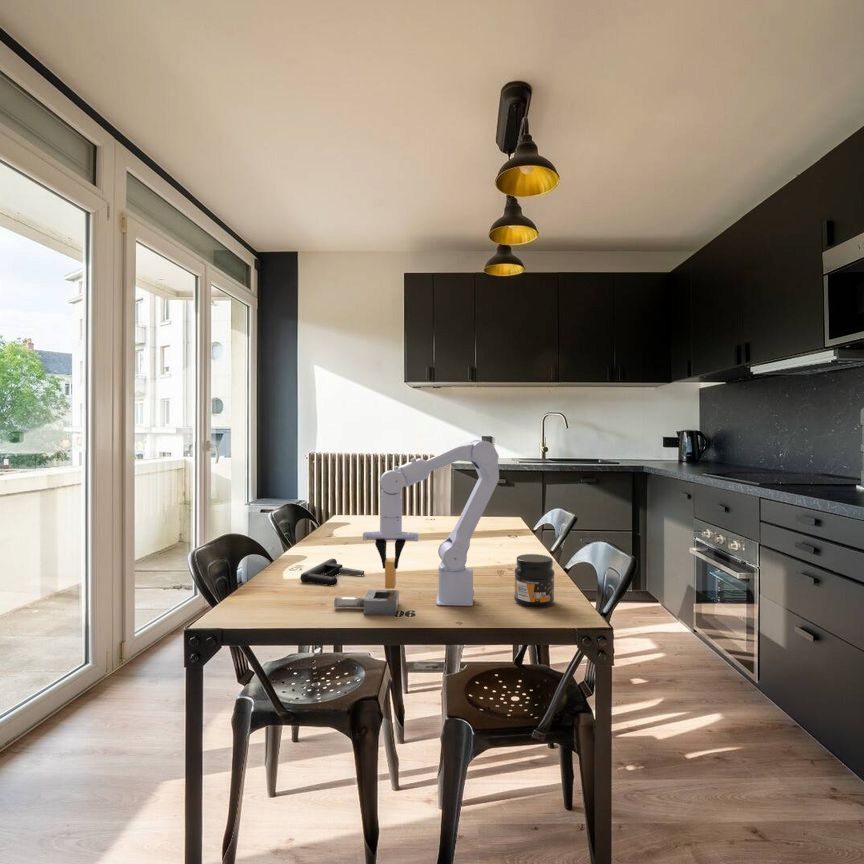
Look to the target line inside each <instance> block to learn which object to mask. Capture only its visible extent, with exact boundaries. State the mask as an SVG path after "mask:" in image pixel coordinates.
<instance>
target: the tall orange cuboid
mask: <svg viewBox="0 0 864 864" xmlns="http://www.w3.org/2000/svg"><path fill="white" fill-rule="evenodd" d="M394 565H395V557H386V561H385V569H384V584H385V585H384V590H395V588H396V584H397V580H396V579H397V573H396V571H397V569H395V566H394Z"/></svg>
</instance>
